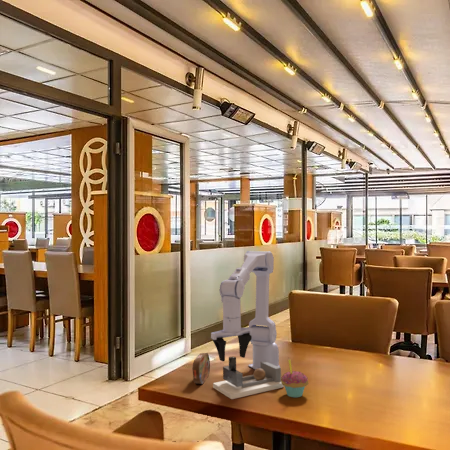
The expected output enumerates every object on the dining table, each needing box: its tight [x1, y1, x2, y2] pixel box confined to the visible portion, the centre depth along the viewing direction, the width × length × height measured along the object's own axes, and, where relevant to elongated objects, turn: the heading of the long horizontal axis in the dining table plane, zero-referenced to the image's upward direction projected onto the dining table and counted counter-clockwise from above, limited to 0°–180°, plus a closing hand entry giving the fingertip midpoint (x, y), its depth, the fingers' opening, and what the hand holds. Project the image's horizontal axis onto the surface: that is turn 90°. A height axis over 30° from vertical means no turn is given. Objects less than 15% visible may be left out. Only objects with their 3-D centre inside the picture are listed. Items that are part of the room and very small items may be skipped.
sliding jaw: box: [222, 355, 244, 387], centre depth 149 cm, size 2×9×8 cm, turn 30°
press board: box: [212, 361, 285, 400], centre depth 152 cm, size 20×12×6 cm, turn 120°
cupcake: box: [281, 358, 309, 398], centre depth 145 cm, size 9×8×12 cm
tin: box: [192, 352, 211, 385], centre depth 160 cm, size 15×3×8 cm, turn 168°
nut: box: [253, 368, 265, 380], centre depth 154 cm, size 4×4×4 cm
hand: (232, 358), depth 149 cm, fingers open, 7 cm apart
